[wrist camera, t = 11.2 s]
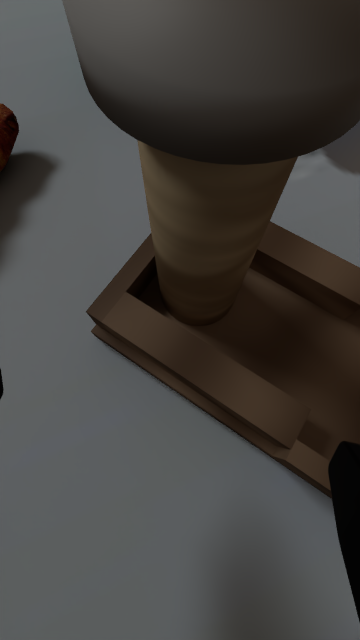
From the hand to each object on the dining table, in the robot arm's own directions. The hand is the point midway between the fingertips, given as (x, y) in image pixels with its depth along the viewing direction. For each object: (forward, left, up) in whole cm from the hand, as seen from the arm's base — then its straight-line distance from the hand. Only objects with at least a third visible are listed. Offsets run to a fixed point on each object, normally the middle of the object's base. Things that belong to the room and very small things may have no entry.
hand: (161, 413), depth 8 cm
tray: (+7, -4, -9) cm, 12 cm away
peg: (+7, +3, -8) cm, 11 cm away
